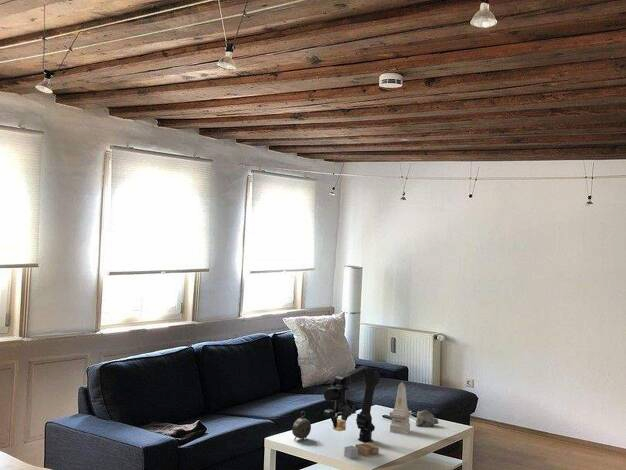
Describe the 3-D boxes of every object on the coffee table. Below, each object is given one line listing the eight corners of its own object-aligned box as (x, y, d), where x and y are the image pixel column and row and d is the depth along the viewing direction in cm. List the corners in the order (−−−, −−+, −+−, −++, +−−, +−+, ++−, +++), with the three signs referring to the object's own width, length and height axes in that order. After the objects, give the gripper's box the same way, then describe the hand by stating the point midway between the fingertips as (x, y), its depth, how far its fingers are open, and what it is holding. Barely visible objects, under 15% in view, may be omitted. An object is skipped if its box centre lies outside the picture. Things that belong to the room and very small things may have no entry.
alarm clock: (305, 437, 385) (307, 408, 385) (312, 439, 381) (313, 411, 381) (291, 440, 378) (292, 411, 378) (297, 442, 374) (298, 413, 374)
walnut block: (368, 449, 369) (368, 442, 369) (378, 454, 361) (378, 447, 361) (355, 451, 364) (355, 444, 364) (364, 457, 356) (365, 449, 356)
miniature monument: (388, 432, 404) (391, 381, 404) (394, 427, 413) (396, 379, 413) (405, 434, 399) (407, 384, 399) (410, 430, 409) (413, 381, 409)
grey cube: (351, 454, 358) (351, 445, 358) (357, 457, 354) (358, 448, 354) (344, 456, 355) (344, 446, 355) (350, 459, 351) (350, 449, 351)
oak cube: (339, 427, 373) (340, 418, 373) (345, 430, 369) (345, 421, 369) (332, 429, 370) (333, 419, 370) (338, 431, 366) (338, 422, 366)
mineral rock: (439, 426, 422) (439, 410, 422) (432, 429, 413) (433, 413, 413) (419, 422, 429) (420, 406, 429) (413, 426, 420) (414, 409, 420)
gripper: (336, 404, 358) (335, 433, 357) (363, 400, 369) (361, 428, 369) (323, 399, 366) (322, 428, 366) (350, 395, 378) (348, 423, 378)
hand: (339, 427), depth 370 cm, fingers closed on oak cube, 5 cm apart
